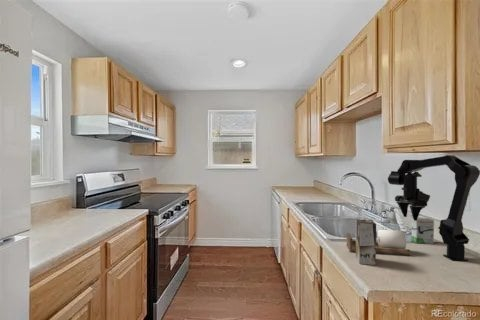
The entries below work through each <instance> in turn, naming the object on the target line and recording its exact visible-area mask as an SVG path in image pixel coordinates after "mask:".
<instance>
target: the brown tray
mask: <svg viewBox="0 0 480 320" xmlns="http://www.w3.org/2000/svg"><path fill="white" fill-rule="evenodd" d="M346 247H347V249H348V251H349V253H356V239H355V240H353V238H352V236H351V234H350V232H346ZM376 255H388V256H402V257H403V256H404V257H406V256H407V257H410V256H411V250H410V249H407V248H405V249H392V248H379V246H378V241H376Z"/></svg>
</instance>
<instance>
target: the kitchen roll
mask: <svg viewBox="0 0 480 320" xmlns="http://www.w3.org/2000/svg"><path fill="white" fill-rule="evenodd" d="M376 242H378V246H379V248H392V249H407V235H406V233H405V231H404V230H392V229H391V230H389V229H378V230H377V233H376Z"/></svg>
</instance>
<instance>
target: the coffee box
mask: <svg viewBox="0 0 480 320" xmlns="http://www.w3.org/2000/svg"><path fill="white" fill-rule="evenodd" d="M355 241H356V252H355V259H356V260H357V262H358V264H361V265H369V266H370V265H372V266H373V265H374V266H376V263H377V261H376V258H377V256H376V255H377V254H376V242H377V223H375V222H374V221H373V220H372V219H355Z"/></svg>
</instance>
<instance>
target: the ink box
mask: <svg viewBox="0 0 480 320" xmlns="http://www.w3.org/2000/svg"><path fill="white" fill-rule="evenodd" d="M434 229H435V221H434V219H432V218H429V217H418V218H417V220H416V221H414V219H413V217H412V218H411V242H412V243H415V244H424V245H426V244H430V245H432V244H433V245H434V239H435V237H434V234H435V233H434V231H435V230H434Z"/></svg>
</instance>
